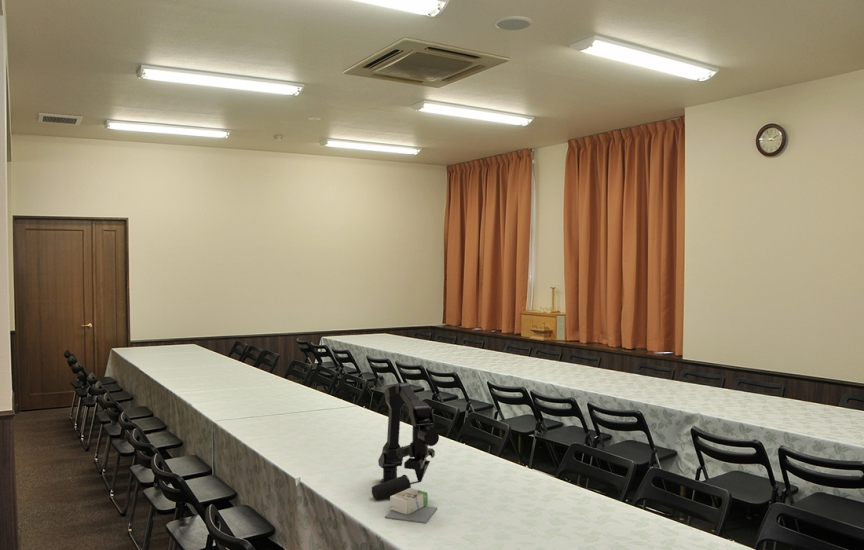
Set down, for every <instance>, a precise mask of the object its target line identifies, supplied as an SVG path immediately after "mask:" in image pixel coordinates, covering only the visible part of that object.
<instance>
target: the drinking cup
mask: <svg viewBox="0 0 864 550" xmlns="http://www.w3.org/2000/svg"><path fill="white" fill-rule="evenodd" d="M419 483H420V482H418V480H417V481H412V482H411V481H410V479H409V477H408V475H406V474H402V475H401V476H397V478H395V479H392V480H389V481H387V482H380V483H378V484H376V485H373V486H372V487H371V494H372V498H373V499H374V500H380V499H381V500H382V499H386V498H390V496H392V495H395V494H397V493H399V492H402V491H404V490H406V489H409V488H412V485H414V484H419Z"/></svg>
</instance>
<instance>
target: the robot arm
mask: <svg viewBox="0 0 864 550" xmlns="http://www.w3.org/2000/svg"><path fill="white" fill-rule="evenodd" d="M384 398H385V403H386V404H387V406H388V419H387V436H386V437H387V439H386V442H385V444H384V445H383V447H382V449H381V451H382V453H381V454H380V455H379V458H378V460H377V461H378V466H379V467H380V468H381V469H382V478H381V480H380V481H379V482H380V483H384V482H387V481H389V480H392V479H395V478H398V467H402V466H403V465H404V466H403V468H404V469H406V470H407V469H408V470H414V471H415V476H416V479H417V481H418V482H419V483H421V482H422V481H423V480H424V477H425V474H426V472H427V470H428V467H429V465H430V463H431V460H428V459H427V458H428V457H429V456H430V457H431V459H433V458H435V456H436V453H435V452H436V451H435V449H434V448H431V447H433V446H435V445H437V444H438V442H439V440H440V436H439V433H438V432H437V430H435V425H436V423H435V421H436V419H435V416H434V413H433V410H432V408H431V407H430V405H429V404H428V403H427V402H426V401H422V400H420V399H419V397H418V396H417V394H416V393H415V391H414V390H413V389H412V388H411V384H410V383H409V382H398V383H396V384H395V385H393V386H388V387H387V388H386V389H385V390H384ZM405 404H406V406H407V408H408V410H409V411H408V415H409V418H410V421H411V424H410V425H412V434H411V435H412V437H411V439H412V441H411V442H410V443H409V444H407V445H404V446H401V445H400V430H401V429H400V427H401V426H400V425H401V413H402V412H401V411H402V410H401V409H402V408H403V406H404V405H405ZM429 447H430V448H429ZM405 457H408V459H407V460H405V461H404V458H405ZM403 461H404V462H403ZM403 463H404V464H403Z"/></svg>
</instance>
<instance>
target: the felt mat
mask: <svg viewBox="0 0 864 550" xmlns="http://www.w3.org/2000/svg"><path fill="white" fill-rule="evenodd" d="M437 510H438V507H436V506H435V507H434V506H430V505H429V506H428V505H426V506H424V507H422V508H420V509H418V510H416V511H414V512H412V513H410V514H408V515H407V514H403V513H400V512H397V511H393V510H391V509H390V511H389V512H388V513H386V515H385V516H384V518H385V519H388V520H389V519H391V520H396V521H404V522H412V523H413V522H414V523H418V524H419V523H421V524H427V523H428V522H429V520H430V519H431V518H432V517H433V515H435V513H436V511H437Z"/></svg>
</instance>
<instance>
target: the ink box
mask: <svg viewBox="0 0 864 550" xmlns="http://www.w3.org/2000/svg"><path fill="white" fill-rule="evenodd" d="M428 497H429V496H428V492H427V491H425V490H424V491H423V490H419V489H415V488H412V487H411V488H409V489H406V490H404V491H402V492H399V493H397V494H395V495H392V496H390V497H389V510H390V511H391V510H393V511H397V512H400V513H403V514H407V515H408V514H410V513H412V512H414V511H416V510H418V509H420V508H422V507H424V506H428Z"/></svg>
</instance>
